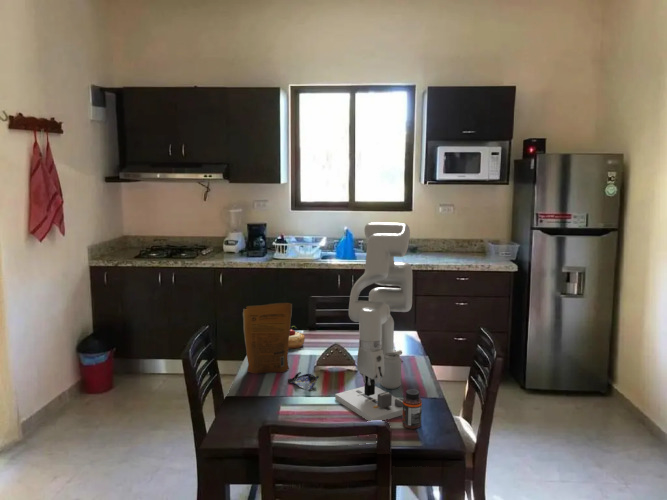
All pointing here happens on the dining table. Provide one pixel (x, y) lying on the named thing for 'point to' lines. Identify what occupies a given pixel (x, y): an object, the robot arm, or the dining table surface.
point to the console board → (369, 404)
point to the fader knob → (384, 400)
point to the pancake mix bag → (267, 337)
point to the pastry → (295, 339)
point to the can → (391, 371)
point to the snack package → (304, 380)
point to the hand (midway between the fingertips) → (369, 394)
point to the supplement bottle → (412, 409)
